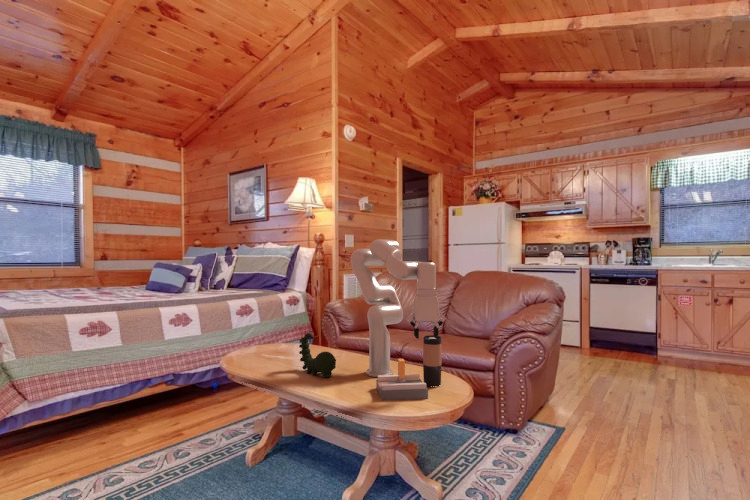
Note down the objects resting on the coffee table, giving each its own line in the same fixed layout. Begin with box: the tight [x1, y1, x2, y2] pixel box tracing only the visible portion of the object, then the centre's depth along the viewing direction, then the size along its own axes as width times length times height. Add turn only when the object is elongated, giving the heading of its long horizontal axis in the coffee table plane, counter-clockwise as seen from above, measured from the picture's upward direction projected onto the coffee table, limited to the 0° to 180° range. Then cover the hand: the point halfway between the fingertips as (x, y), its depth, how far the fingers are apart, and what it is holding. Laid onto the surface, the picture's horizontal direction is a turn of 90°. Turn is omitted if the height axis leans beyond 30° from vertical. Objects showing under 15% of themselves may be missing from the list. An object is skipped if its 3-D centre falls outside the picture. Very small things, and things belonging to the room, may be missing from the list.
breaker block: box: [375, 373, 429, 401], centre depth 158 cm, size 14×18×5 cm
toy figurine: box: [298, 332, 337, 379], centre depth 183 cm, size 9×19×25 cm
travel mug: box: [422, 335, 442, 388], centre depth 169 cm, size 8×8×20 cm
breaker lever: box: [397, 358, 406, 383], centre depth 158 cm, size 4×2×9 cm, turn 7°
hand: (426, 337), depth 159 cm, fingers open, 6 cm apart
